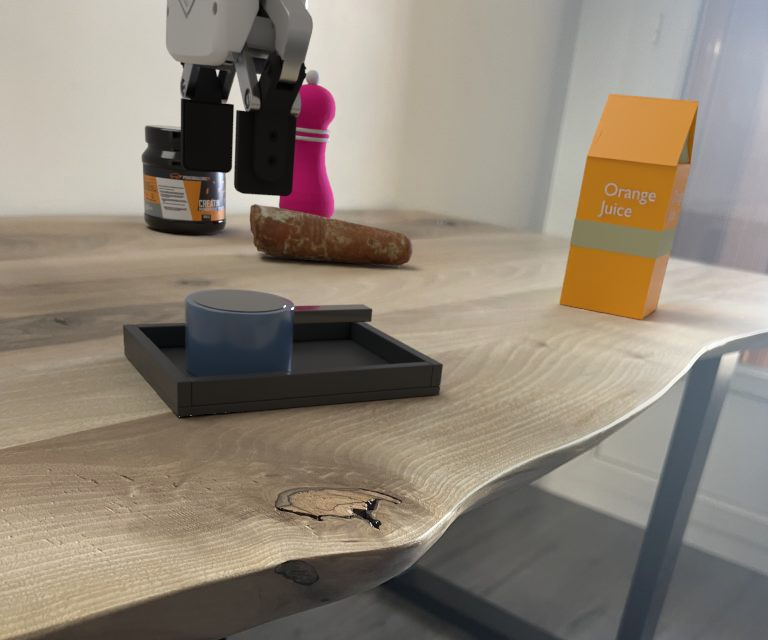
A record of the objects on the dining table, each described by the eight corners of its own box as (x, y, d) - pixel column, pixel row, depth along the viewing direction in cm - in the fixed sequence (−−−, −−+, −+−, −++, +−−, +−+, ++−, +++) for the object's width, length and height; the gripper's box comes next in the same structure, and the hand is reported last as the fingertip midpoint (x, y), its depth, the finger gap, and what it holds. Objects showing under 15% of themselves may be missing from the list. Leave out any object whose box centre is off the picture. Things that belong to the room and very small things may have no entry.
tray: (177, 418, 46) (177, 382, 45) (124, 355, 56) (122, 324, 55) (439, 394, 54) (443, 364, 53) (353, 343, 64) (355, 316, 63)
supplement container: (168, 236, 100) (165, 129, 95) (129, 223, 107) (125, 122, 102) (241, 235, 107) (243, 135, 102) (201, 222, 114) (200, 127, 108)
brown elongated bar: (249, 250, 97) (250, 200, 94) (407, 263, 100) (412, 215, 97) (247, 259, 91) (248, 207, 89) (414, 273, 94) (420, 222, 92)
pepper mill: (319, 247, 104) (329, 70, 95) (268, 239, 106) (273, 65, 97) (340, 241, 110) (351, 74, 102) (291, 233, 112) (298, 69, 103)
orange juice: (579, 294, 92) (618, 96, 83) (657, 308, 88) (707, 103, 80) (558, 304, 86) (597, 90, 77) (642, 320, 82) (693, 99, 73)
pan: (204, 388, 49) (204, 315, 47) (172, 356, 54) (171, 289, 52) (386, 375, 55) (393, 309, 53) (342, 347, 60) (346, 286, 58)
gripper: (125, -173, 45) (132, 159, 53) (230, -255, 32) (219, 201, 40) (252, -139, 49) (241, 168, 57) (394, -200, 36) (355, 209, 44)
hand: (232, 181), depth 48 cm, fingers open, 9 cm apart
